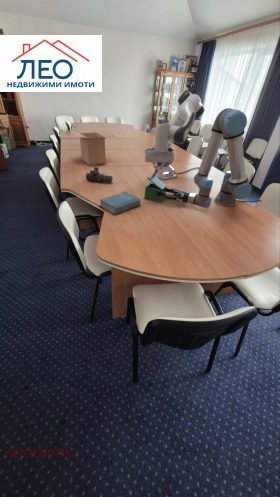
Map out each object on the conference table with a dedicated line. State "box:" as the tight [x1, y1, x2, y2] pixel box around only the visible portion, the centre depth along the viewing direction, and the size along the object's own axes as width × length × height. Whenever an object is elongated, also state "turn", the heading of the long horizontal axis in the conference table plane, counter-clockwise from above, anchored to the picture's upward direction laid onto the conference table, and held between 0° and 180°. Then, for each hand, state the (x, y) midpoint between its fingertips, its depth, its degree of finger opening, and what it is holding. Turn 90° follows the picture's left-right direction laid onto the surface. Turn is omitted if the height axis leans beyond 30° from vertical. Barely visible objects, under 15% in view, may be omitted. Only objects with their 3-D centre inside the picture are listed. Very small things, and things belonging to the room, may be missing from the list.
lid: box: [146, 167, 167, 190], centre depth 158 cm, size 14×10×9 cm
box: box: [70, 129, 114, 166], centre depth 229 cm, size 44×36×27 cm
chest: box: [144, 182, 167, 203], centre depth 166 cm, size 13×10×9 cm
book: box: [99, 191, 141, 215], centre depth 152 cm, size 23×16×5 cm
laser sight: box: [85, 166, 113, 184], centre depth 186 cm, size 10×22×10 cm, turn 78°
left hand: (158, 168), depth 155 cm, fingers closed on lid, 3 cm apart
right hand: (159, 191), depth 164 cm, fingers closed on chest, 9 cm apart
